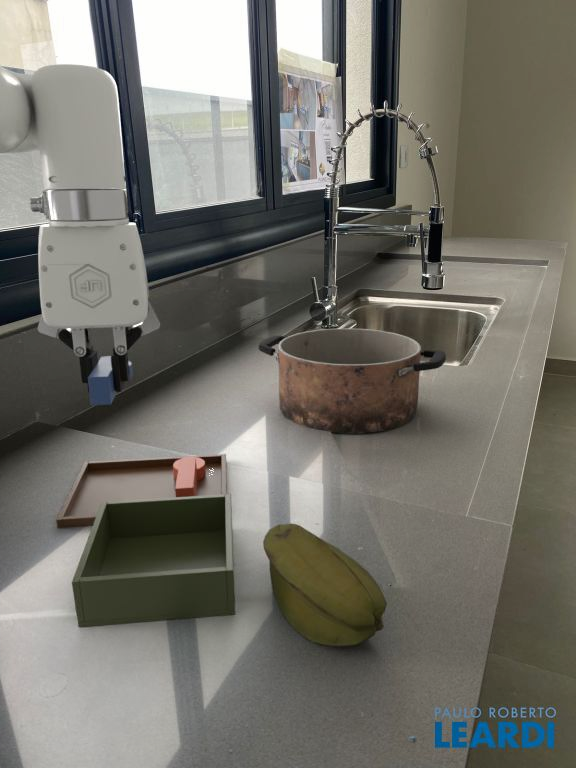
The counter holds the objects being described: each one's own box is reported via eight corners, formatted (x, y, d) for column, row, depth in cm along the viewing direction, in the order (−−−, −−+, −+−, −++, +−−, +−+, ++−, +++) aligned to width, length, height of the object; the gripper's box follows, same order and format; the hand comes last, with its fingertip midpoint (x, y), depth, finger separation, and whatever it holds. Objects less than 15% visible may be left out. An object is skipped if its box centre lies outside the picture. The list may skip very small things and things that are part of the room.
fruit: (237, 650, 48) (233, 580, 46) (274, 562, 59) (272, 502, 57) (381, 673, 46) (385, 600, 44) (392, 577, 57) (395, 515, 55)
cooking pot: (234, 419, 95) (231, 353, 91) (289, 378, 114) (289, 322, 111) (426, 449, 83) (431, 375, 80) (451, 397, 103) (456, 336, 99)
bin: (78, 627, 51) (71, 582, 49) (106, 539, 63) (101, 501, 62) (235, 614, 52) (233, 570, 51) (232, 531, 65) (230, 493, 63)
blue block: (80, 406, 61) (77, 377, 60) (100, 373, 71) (97, 348, 70) (121, 404, 61) (118, 376, 60) (134, 371, 71) (132, 347, 71)
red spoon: (168, 513, 67) (165, 489, 66) (175, 468, 78) (173, 447, 77) (204, 510, 68) (202, 487, 67) (206, 467, 78) (204, 445, 77)
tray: (57, 531, 65) (55, 519, 64) (85, 471, 78) (84, 461, 78) (227, 520, 67) (227, 508, 66) (226, 463, 80) (225, 453, 80)
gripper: (-11, 212, 54) (19, 404, 60) (168, 210, 56) (180, 397, 62) (14, 208, 61) (39, 380, 67) (173, 207, 63) (184, 375, 69)
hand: (107, 387), depth 64 cm, fingers closed on blue block, 2 cm apart
